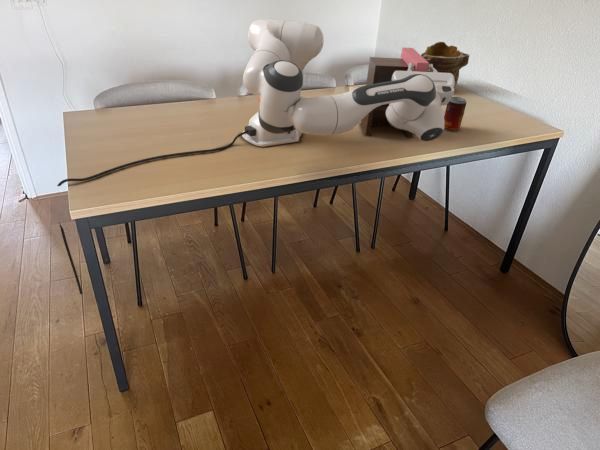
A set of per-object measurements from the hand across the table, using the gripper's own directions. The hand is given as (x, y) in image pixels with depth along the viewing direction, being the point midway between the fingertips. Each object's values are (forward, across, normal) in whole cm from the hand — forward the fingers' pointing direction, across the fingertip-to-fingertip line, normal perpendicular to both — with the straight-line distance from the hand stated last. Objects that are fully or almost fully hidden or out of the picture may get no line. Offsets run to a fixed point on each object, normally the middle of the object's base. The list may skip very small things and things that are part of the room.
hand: (420, 64), depth 151 cm
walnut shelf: (-4, -5, -30) cm, 31 cm away
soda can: (0, +22, -32) cm, 39 cm away
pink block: (+6, 0, -6) cm, 8 cm away
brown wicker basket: (+47, +32, -59) cm, 82 cm away
